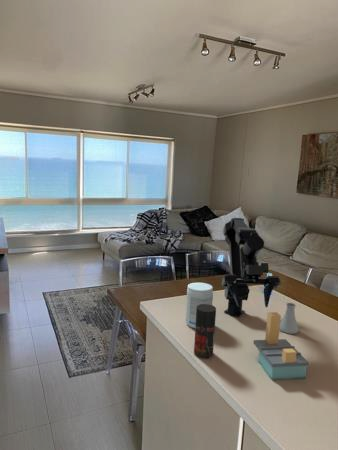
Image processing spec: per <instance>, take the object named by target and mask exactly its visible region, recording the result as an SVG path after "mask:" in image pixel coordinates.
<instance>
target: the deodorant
mask: <svg viewBox="0 0 338 450" xmlns="http://www.w3.org/2000/svg"><path fill="white" fill-rule="evenodd" d="M216 316H217V307H216V306H215V305H213V304H212V305H208V304H200V305H198V306H197V309H196V325H195V328H194V342H193V343H194V344H193V345H194V346H193V355H194V356H195V357H196V358H199V359H202V360H203V359H204V360H208V359H211V358H212V357H213V356H214V343H215V331H216V330H215V329H216V319H217V317H216Z"/></svg>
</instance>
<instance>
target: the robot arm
mask: <svg viewBox="0 0 338 450" xmlns="http://www.w3.org/2000/svg"><path fill="white" fill-rule="evenodd" d="M222 233H223V236H224V241H225V242H226V244H227V245H228V250H229V263H230V265H229V266H230V267H229V268H230V274H229V273H225V274H224V275H223V277H222V279H221V286H222V287H223V288H225V289H224V298H225V299H226V300H227V301H228V302H227V308H226V309H225V310H224V311H223V312H224V314H228V315H232V316H235V317H238V318H239V317H240V316H242V315H243V314H244V313H245V312H246V311H245V310H243V301H248V299H249V293H250V288H249V285H263V286H264V288H263V297H264V298H263V300H264V306H265V308H266V309H267V308H268V306H269V303H270V298H271V295H272V292H273V291H274V290H275V289H277V288H278V287H279V286H280V285H281V279H280V277H279V276H278V275H267V276H266V277H265V278H261V277H262V276H264V273H265V274H266V273H269V272H270V271H269V263H268V262H261V264H260V265H259V262H258V255H260V253H261V252H262V250H263V248H264V246H265V241H264V239H263V238H262V237H261V236H260V235H259V233H258V232H257V230H256V229H255V228H251V227H249V226H248V225H247V224H246V222H245V219H244V218H243V217H242V218H241V217H232V218H231V219H230V221H228V222H226V223H225V224H224V227H223V231H222ZM241 245H242V246H241Z"/></svg>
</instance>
